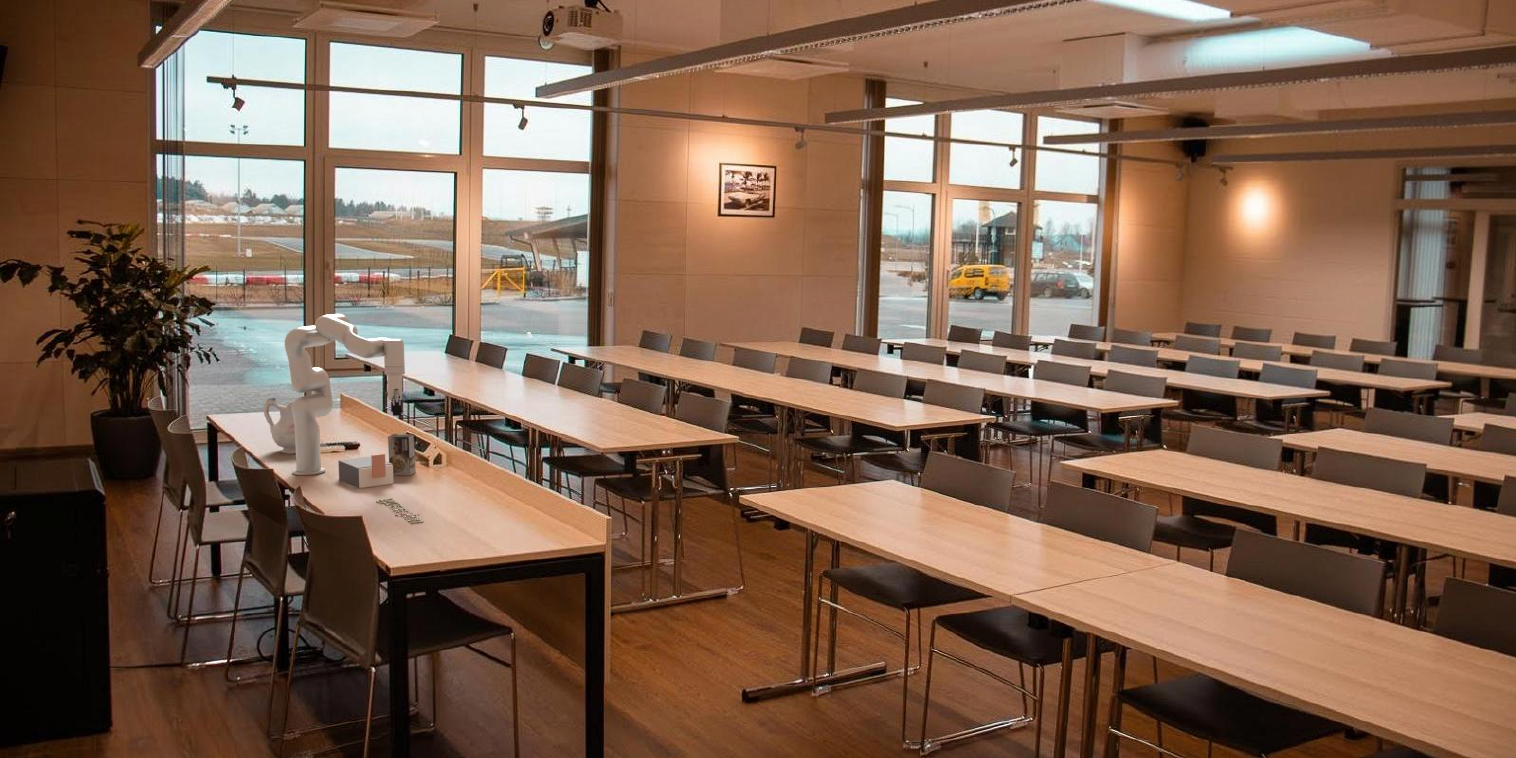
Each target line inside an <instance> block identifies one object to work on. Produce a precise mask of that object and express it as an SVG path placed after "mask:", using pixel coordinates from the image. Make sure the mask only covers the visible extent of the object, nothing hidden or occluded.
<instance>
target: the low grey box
mask: <svg viewBox="0 0 1516 758" xmlns="http://www.w3.org/2000/svg"><path fill="white" fill-rule="evenodd" d="M337 463H338V480H339V481H340V482H343V483H345V484H348V485H349V486H352V487H354V488H357V489H360V488H359V469H362V468H370V467H372V460H371V456H364V457H357V458H356V457H355V458H347V459H340V460H338V462H337ZM386 465H392V463H389V461H386V460H385V466H386ZM387 485H388V484H386V485H385V486H387ZM379 486H381V485H378V486H377V487H379ZM371 487H374V486H371ZM371 487H370V488H371ZM364 488H366V487H364ZM364 488H363V489H364Z"/></svg>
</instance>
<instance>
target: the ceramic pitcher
mask: <svg viewBox="0 0 1516 758" xmlns="http://www.w3.org/2000/svg"><path fill="white" fill-rule="evenodd" d="M276 399H277V398H275V397H269V398H267V400H266V402H265V403H264V406H263V414H264V417H265V419H266V422H267V423H268V425H269V428H270V429H269V430H270V433H271V438H272V440H273V443H275V444H276V445H277V446H278V447H280V448H283V449H282V450H281V451H280V453H282V452H283V453H282V454H289V455H291V454H296V445H295V426H294V419H293V415H292V410H291V407H292V403H293V402H294V401H295V400H291V401H289V402H288V403H286V405H283V404H279V403H278V402H277V401H276ZM270 407H275V408H276V409H277V410H279V415H280V416H279V417H280V418H279V420H278V421H277V422H276V423H274V420H273V419H272V416H271V414H270Z"/></svg>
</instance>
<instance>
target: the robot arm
mask: <svg viewBox="0 0 1516 758" xmlns="http://www.w3.org/2000/svg"><path fill="white" fill-rule="evenodd" d="M358 334H359V333H358V329H357V327H356V326H355V325H354V324H351V322H350V319H349V318H348V317H347V316H346V315H344V314H342V313H333V314H331V313H330V314H325V315H324V314H323V315H321V316H319V317H318V318H317V319H316V320H315V322H314V325H305V326H299V327H295V328H292V329H291V330H289V332H288V333H287V334H286V336H285V338H284V348H285V349H284V350H285V352H286V356H287V360H288V367H289V374H290V381H291V386H292V389H293V391H294V392H296V393H300V394H304V393H310V392H311V394H308V395H304V396H303V395H302V396H299V397H297V398H296V399H295V400H293V401H294V402H293V403H292V407H291V410H292V415H293V419H294V426H295V445H296V453H295V463H296V464H295V467H296V468H294V469H293V470H292V471H291V473H292V475H295V476H315V475H320V474H324V473H325V472H326V468H325V467H322V459H321V457H322V456H321V453H322V452H321V433H320V431H321V430H320V425H319V424H318V423H319V422H318V421H317V418H320V417H325V416H327V415H329V414H330V413H331V412H332V410H333V403H334V402H333V395H332V388H331V381H330V378H329V374H328V373H327V371H326V370H325V369H324V368H321V367H317V366H316V367H315V366H314V367H313V366H312V358H311V356H310V354H309V352H308V351H307V350H306V348H312V347H321V346H325V345H328V344H329V343H331V342H333V341H335V342H337V343H339V344H342V345H343V346H344V347H345V349H346V350H347V351H348V352H350V353H351V354H353V355H356V356H358V357H359V358H360V357H361V358H363V359H374V358H382V357H384V362H383V363H384V375H386V376H387V398H388V400H389V401H391V402H390V412H391V413H392V416H393V417H394V416H395V417H398V416H402V405H401V400H402V399H403V375H406V370H405V363H406V362H405V343H404V340H402V339H400V338H388V337H375V338H364V337H362V336H359V335H358Z"/></svg>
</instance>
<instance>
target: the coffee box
mask: <svg viewBox="0 0 1516 758" xmlns="http://www.w3.org/2000/svg"><path fill="white" fill-rule="evenodd" d="M415 443H416V442H415V433H414V434H413V433H392V434H390V435H389V436H387V444H388V445H387V447H388V462H389V463H392V465H393V476H412V475H414V474H416V471H417V470H416V444H415Z"/></svg>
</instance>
